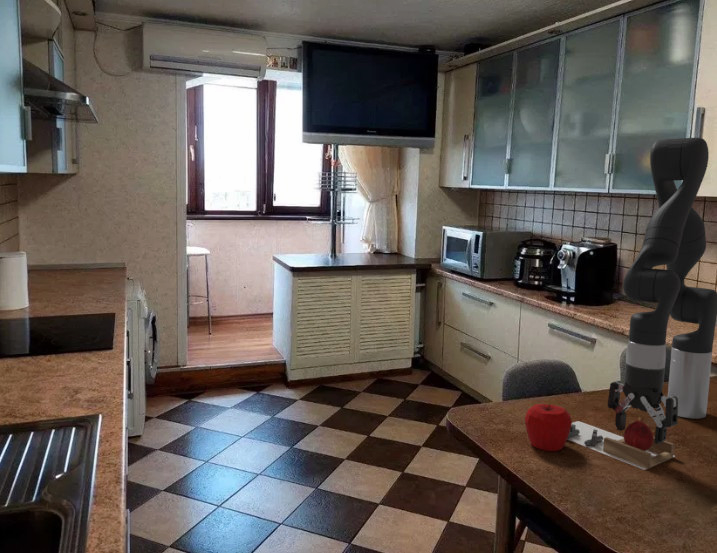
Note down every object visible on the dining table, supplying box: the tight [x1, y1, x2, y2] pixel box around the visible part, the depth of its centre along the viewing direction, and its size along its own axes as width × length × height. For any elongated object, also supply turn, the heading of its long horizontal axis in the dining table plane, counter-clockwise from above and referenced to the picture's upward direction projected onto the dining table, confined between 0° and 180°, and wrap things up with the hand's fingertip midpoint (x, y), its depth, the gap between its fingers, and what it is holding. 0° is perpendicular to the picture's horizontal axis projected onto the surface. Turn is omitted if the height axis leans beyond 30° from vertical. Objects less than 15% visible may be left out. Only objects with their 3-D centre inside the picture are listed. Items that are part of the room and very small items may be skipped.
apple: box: [524, 403, 573, 452], centre depth 134 cm, size 10×10×11 cm
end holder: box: [603, 436, 675, 469], centre depth 130 cm, size 10×10×3 cm
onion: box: [623, 417, 655, 451], centre depth 130 cm, size 6×6×8 cm
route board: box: [566, 420, 676, 471], centre depth 136 cm, size 14×24×4 cm, turn 35°
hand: (639, 436), depth 130 cm, fingers open, 8 cm apart
